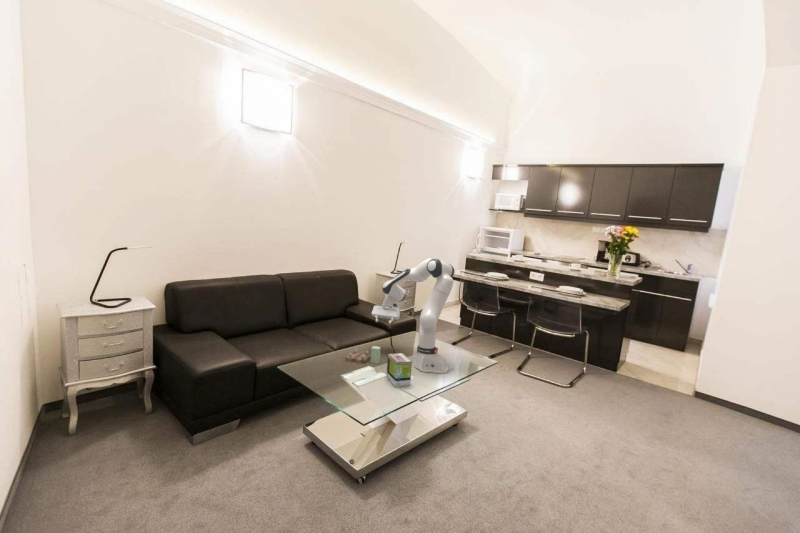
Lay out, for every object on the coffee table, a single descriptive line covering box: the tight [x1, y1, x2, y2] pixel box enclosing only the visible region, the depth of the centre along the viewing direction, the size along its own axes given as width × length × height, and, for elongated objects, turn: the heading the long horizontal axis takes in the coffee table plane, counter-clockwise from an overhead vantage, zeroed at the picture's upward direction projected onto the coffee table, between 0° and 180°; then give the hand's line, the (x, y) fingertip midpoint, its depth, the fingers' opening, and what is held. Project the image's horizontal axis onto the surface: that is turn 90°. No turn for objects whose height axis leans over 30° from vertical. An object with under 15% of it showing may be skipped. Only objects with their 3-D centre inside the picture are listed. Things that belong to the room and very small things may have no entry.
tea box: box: [386, 352, 413, 388], centre depth 214 cm, size 15×10×15 cm, turn 22°
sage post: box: [369, 345, 381, 365], centre depth 244 cm, size 5×5×10 cm
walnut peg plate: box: [344, 348, 371, 364], centre depth 247 cm, size 14×12×5 cm
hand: (383, 322), depth 254 cm, fingers open, 8 cm apart
